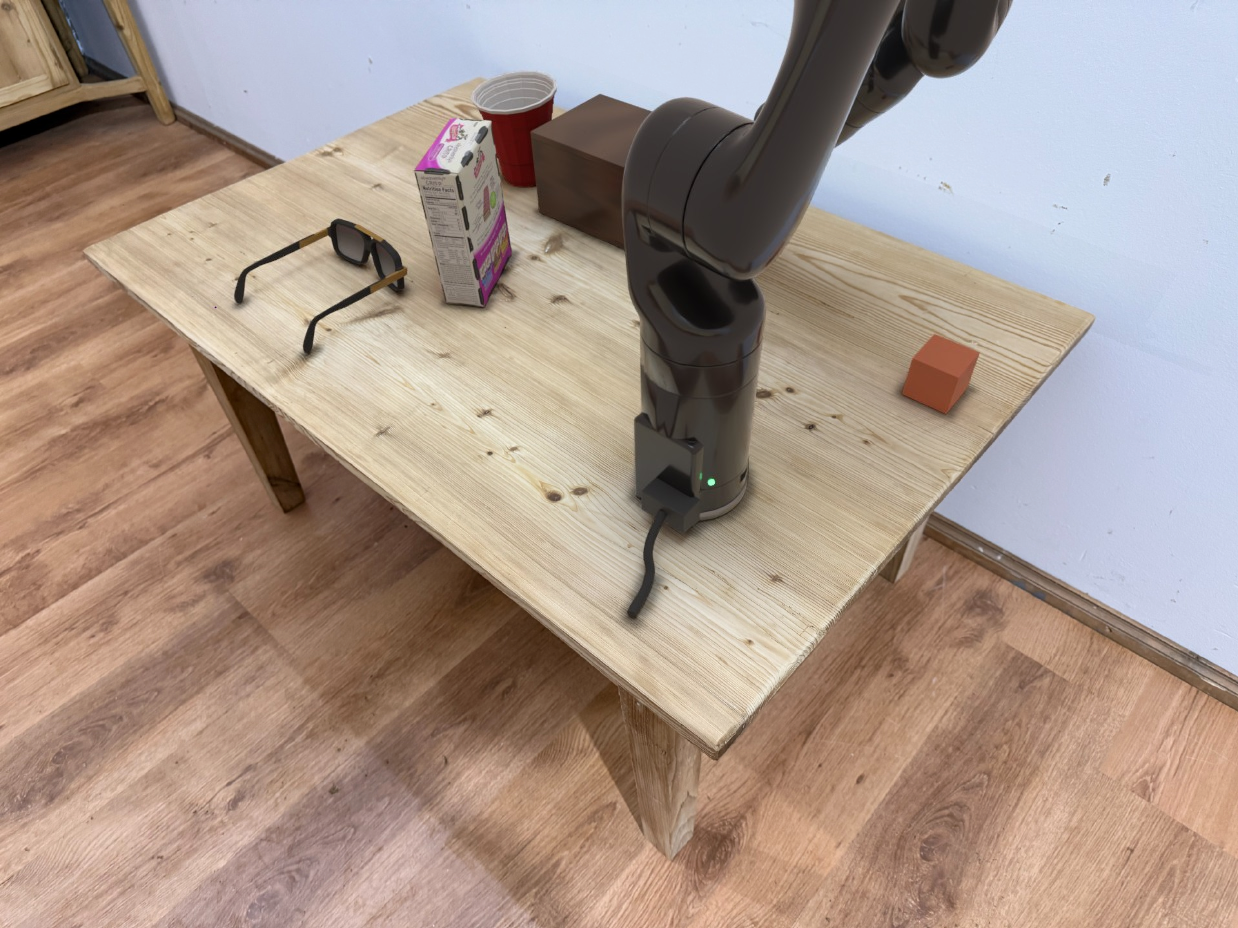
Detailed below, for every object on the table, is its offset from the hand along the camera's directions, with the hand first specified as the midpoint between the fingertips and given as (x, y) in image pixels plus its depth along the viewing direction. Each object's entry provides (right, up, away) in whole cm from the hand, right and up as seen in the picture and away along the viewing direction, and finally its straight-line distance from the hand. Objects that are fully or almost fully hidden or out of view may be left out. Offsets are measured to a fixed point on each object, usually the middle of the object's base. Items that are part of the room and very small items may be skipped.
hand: (709, 188), depth 95 cm
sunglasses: (-43, -12, +1) cm, 45 cm away
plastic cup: (-23, +7, +18) cm, 30 cm away
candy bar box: (-26, -10, +3) cm, 28 cm away
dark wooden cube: (-11, +1, +12) cm, 16 cm away
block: (+21, -24, -13) cm, 34 cm away
